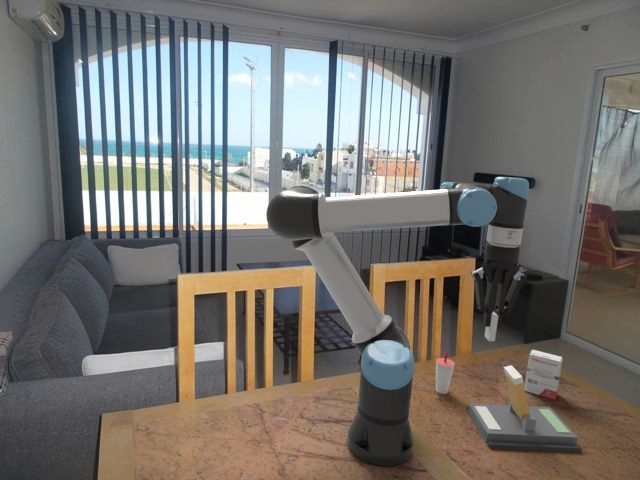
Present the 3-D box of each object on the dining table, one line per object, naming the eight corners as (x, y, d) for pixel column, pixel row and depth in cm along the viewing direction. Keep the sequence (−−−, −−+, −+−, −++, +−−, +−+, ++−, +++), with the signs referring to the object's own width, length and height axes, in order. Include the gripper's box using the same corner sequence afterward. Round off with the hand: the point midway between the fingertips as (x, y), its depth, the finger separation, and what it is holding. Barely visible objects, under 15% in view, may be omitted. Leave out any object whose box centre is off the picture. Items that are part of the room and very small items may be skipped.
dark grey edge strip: (489, 448, 108) (489, 444, 108) (487, 445, 109) (488, 441, 109) (580, 451, 108) (581, 448, 108) (578, 449, 109) (579, 445, 109)
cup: (438, 384, 136) (443, 346, 134) (454, 391, 133) (460, 353, 130) (428, 389, 133) (433, 351, 130) (445, 397, 129) (450, 358, 127)
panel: (485, 442, 110) (489, 421, 109) (467, 411, 122) (470, 392, 121) (575, 446, 110) (580, 425, 109) (548, 415, 123) (551, 396, 122)
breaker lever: (523, 424, 113) (514, 379, 110) (512, 410, 119) (503, 366, 116) (531, 422, 113) (522, 377, 110) (520, 408, 119) (511, 364, 116)
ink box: (557, 393, 135) (563, 356, 133) (555, 400, 131) (562, 362, 129) (525, 384, 140) (531, 348, 138) (523, 390, 136) (529, 353, 133)
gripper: (481, 245, 103) (468, 344, 108) (538, 249, 103) (522, 346, 108) (470, 239, 110) (458, 331, 115) (523, 242, 111) (509, 334, 115)
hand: (489, 338), depth 111 cm, fingers closed
